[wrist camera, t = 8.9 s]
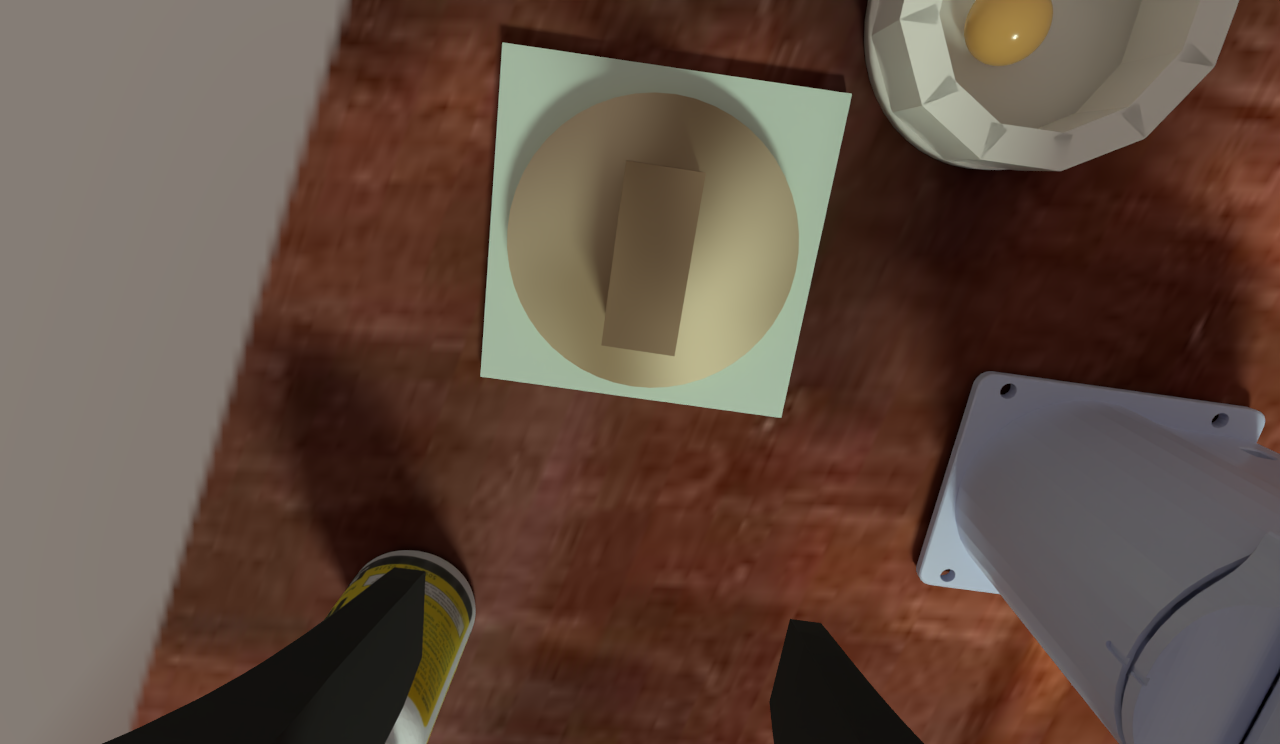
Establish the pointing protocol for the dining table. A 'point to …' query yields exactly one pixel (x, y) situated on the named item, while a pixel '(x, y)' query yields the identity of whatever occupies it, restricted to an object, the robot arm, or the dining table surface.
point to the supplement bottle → (426, 635)
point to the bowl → (1036, 74)
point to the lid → (653, 240)
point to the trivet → (570, 83)
